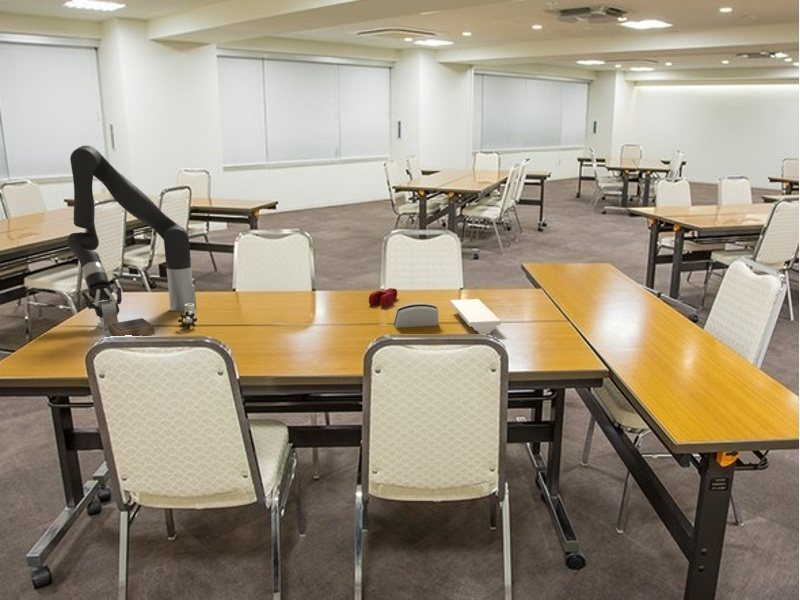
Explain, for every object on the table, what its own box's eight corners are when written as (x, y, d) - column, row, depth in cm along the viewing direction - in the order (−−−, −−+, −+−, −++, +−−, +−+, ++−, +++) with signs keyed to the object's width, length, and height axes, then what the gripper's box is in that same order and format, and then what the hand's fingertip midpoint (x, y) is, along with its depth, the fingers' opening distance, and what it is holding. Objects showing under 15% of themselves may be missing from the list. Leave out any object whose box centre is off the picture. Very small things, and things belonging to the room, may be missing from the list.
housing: (115, 322, 241) (113, 299, 238) (121, 326, 236) (118, 302, 233) (97, 325, 237) (94, 302, 234) (102, 329, 232) (99, 305, 230)
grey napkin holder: (435, 321, 244) (438, 299, 238) (438, 328, 240) (441, 307, 234) (392, 323, 241) (394, 301, 235) (394, 331, 237) (396, 309, 231)
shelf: (468, 336, 227) (469, 322, 226) (449, 312, 256) (450, 300, 254) (500, 334, 229) (500, 320, 228) (477, 311, 257) (478, 298, 256)
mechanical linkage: (383, 308, 261) (383, 296, 260) (368, 306, 265) (368, 294, 263) (402, 299, 275) (402, 288, 274) (387, 297, 278) (387, 286, 277)
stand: (143, 325, 237) (142, 317, 236) (154, 333, 228) (153, 325, 227) (109, 332, 230) (108, 323, 229) (119, 340, 221) (118, 331, 220)
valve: (182, 320, 244) (178, 329, 233) (180, 303, 243) (177, 312, 231) (200, 319, 246) (197, 328, 234) (198, 302, 244) (196, 311, 233)
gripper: (75, 273, 232) (89, 313, 226) (117, 268, 241) (131, 306, 235) (74, 285, 238) (87, 323, 232) (114, 279, 246) (128, 316, 241)
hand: (109, 314), depth 234 cm, fingers closed on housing, 5 cm apart
